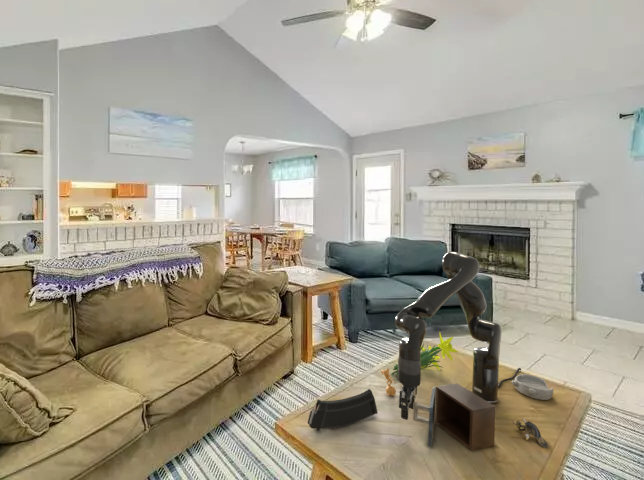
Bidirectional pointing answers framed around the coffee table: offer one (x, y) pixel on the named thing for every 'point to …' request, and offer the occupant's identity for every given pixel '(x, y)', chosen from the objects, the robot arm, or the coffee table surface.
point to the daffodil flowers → (433, 354)
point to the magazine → (342, 411)
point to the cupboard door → (431, 415)
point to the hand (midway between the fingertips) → (407, 413)
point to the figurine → (389, 389)
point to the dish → (532, 387)
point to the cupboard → (465, 416)
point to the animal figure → (531, 431)
